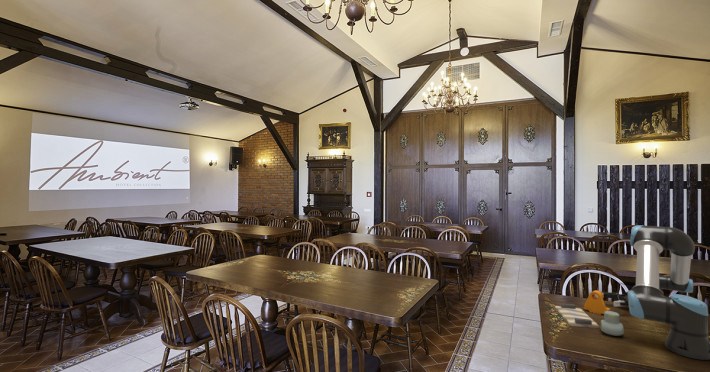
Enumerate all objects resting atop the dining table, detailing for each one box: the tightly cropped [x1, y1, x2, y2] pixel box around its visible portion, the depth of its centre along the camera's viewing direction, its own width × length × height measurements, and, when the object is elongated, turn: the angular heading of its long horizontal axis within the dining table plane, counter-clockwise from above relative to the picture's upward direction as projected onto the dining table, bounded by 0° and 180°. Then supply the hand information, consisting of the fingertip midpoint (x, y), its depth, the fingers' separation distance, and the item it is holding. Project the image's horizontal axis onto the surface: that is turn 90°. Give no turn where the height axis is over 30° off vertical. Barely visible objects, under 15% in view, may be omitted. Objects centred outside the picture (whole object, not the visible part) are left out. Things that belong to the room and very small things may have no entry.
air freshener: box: [600, 310, 624, 337], centre depth 166 cm, size 11×8×10 cm
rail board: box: [554, 302, 600, 329], centre depth 186 cm, size 26×13×3 cm, turn 164°
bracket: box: [583, 290, 611, 315], centre depth 195 cm, size 11×7×12 cm, turn 37°
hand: (603, 299), depth 196 cm, fingers open, 13 cm apart
